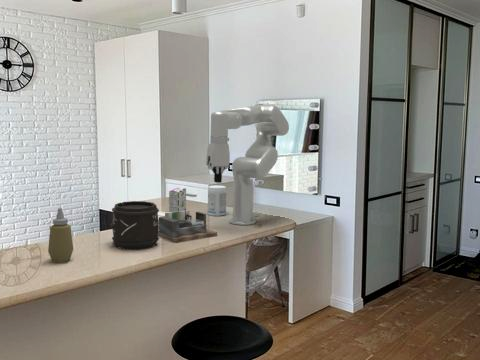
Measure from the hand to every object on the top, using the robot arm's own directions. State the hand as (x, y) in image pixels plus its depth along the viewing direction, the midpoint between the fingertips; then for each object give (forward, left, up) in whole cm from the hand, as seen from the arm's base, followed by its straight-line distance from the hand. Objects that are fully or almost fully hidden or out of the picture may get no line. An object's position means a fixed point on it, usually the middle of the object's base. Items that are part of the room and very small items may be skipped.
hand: (217, 182), depth 208 cm
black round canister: (+41, +1, -22) cm, 46 cm away
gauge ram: (+12, -2, -20) cm, 23 cm away
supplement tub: (-21, -28, -22) cm, 41 cm away
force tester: (+16, 0, -22) cm, 27 cm away
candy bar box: (+8, -20, -22) cm, 31 cm away
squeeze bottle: (+71, +6, -22) cm, 74 cm away
